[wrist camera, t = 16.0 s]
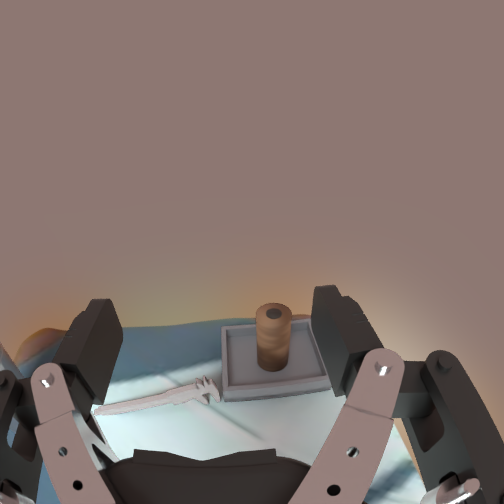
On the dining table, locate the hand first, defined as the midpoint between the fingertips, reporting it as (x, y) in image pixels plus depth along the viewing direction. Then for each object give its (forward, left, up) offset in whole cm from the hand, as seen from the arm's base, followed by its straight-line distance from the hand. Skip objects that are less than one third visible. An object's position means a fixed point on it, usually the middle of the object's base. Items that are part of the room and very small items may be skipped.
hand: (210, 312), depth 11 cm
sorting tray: (+6, +22, -30) cm, 38 cm away
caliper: (-13, +14, -31) cm, 36 cm away
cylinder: (+6, +22, -29) cm, 37 cm away
